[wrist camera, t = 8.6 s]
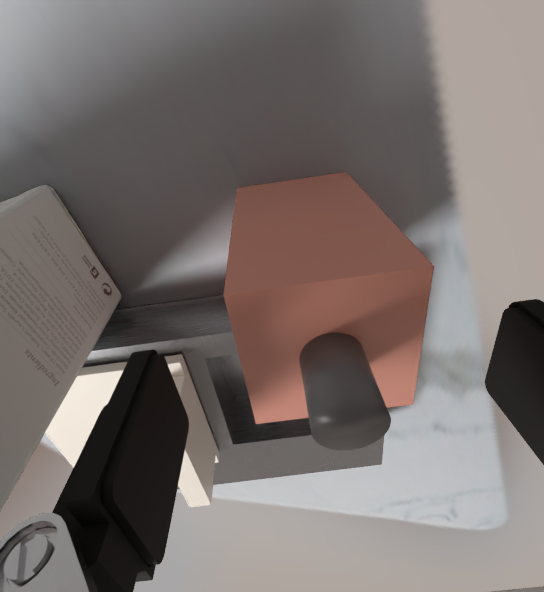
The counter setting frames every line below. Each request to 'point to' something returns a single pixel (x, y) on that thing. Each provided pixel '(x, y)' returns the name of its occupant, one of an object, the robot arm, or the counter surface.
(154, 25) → the counter surface
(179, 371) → the cream stepped block
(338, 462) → the socket
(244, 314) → the plug
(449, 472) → the counter surface
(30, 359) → the skincare box
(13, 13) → the counter surface
